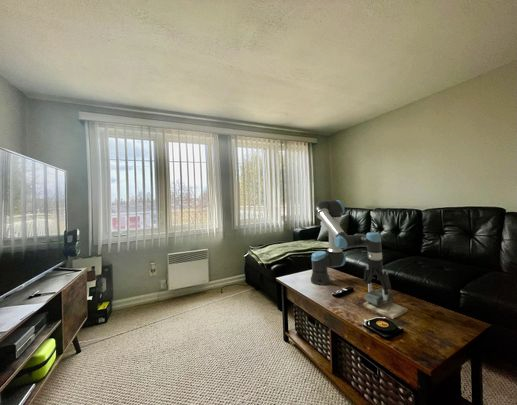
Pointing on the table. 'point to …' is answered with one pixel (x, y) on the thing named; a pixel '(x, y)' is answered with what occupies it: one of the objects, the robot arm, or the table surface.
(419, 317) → the table surface
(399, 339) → the table surface
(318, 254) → the robot arm
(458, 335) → the table surface
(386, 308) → the board
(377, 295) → the stone block
